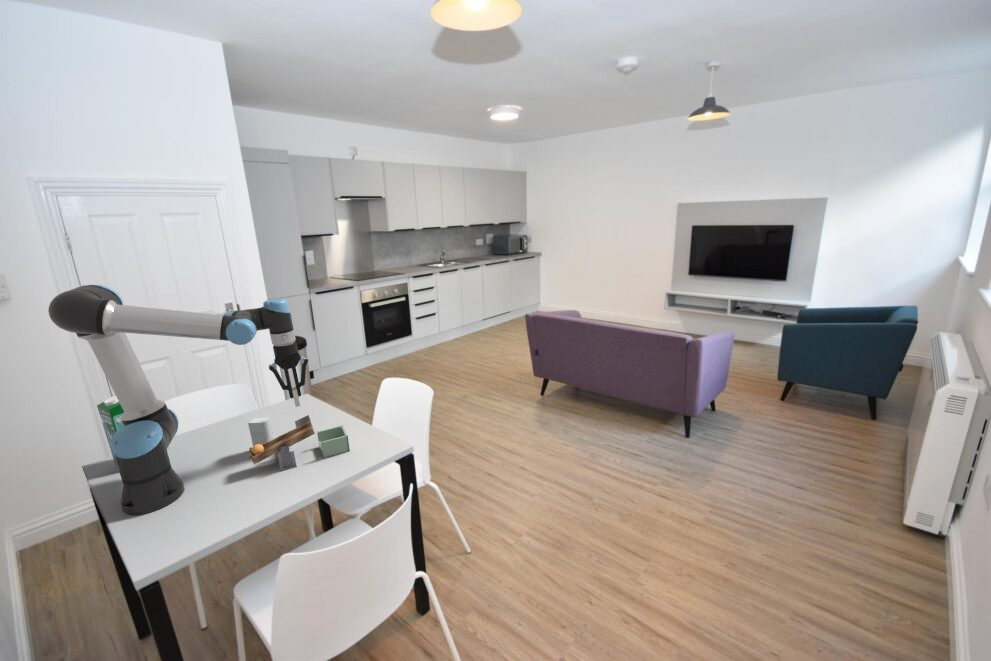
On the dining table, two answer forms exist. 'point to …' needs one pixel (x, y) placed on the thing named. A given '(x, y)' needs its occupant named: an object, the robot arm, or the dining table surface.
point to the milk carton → (111, 418)
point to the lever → (285, 439)
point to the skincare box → (261, 430)
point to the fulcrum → (286, 458)
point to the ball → (257, 449)
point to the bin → (333, 441)
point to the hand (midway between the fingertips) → (297, 405)
